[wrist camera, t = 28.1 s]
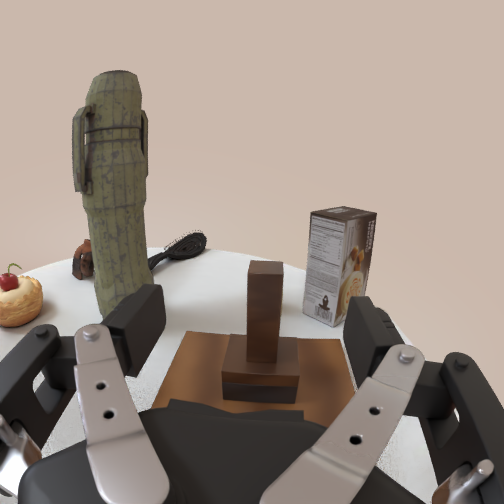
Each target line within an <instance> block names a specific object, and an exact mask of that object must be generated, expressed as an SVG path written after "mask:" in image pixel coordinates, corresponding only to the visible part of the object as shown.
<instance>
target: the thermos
mask: <svg viewBox="0 0 504 504" xmlns="http://www.w3.org/2000/svg"><path fill="white" fill-rule="evenodd" d="M141 102H142V94H141V89H140V86H139V82H138V78H137V75H135V74H133V73H131V72H129V71H123V70H115V71H108V72H104V73H101V74H100V75H98V76H96V77H95V78H94V79H93V81H92V84H91V86H90V89H89V91H88V94H87V97H86V105H85V107H82V108H80V109H79V110H78V111H77V113H76V114H75V116H74V118H73V125H72V155H73V156H72V159H73V178H74V185H75V192H81V194H82V200H83V207H84V209H85V211H86V213H87V217H88V226H89V235H90V242H91V249H92V256H93V262H94V268H95V274H96V276H95V283H94V288H95V293H96V297H97V302H98V306H99V310H100V313H101V315H102V317H103V320H104V319H105V318H106V316H107V315H108V314H109V313H110V312H111V311H112V310H114V308H115V307H116V306H117V305H118V303H119V302H120V301H121V300H122V299H123V298H124V297H126V296H128V295H130V294H132V293H136V291H137V290H138V289H139V288H140V287H141V286H142V285H143V284H144V283H146V284H154V279H153V275H152V273H151V271H150V269H149V267H148V258H147V248H146V237H145V224H144V210H143V209H144V205H145V202H146V177H147V176H148V119H147V116H146V114H145V111H143V110H141ZM85 134H86V145H85V144H84V143H85V141H84V139H85V138H84V137H85Z"/></svg>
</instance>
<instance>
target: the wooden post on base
mask: <svg viewBox="0 0 504 504" xmlns="http://www.w3.org/2000/svg"><path fill="white" fill-rule="evenodd" d="M283 276H284V273H283V262H277V261H255V260H251V261H250V265H249V269H248V280H247V335H239V334H230V337H229V341H228V345H227V349H226V353H225V357H224V361H223V365H222V369H221V378H222V395H223V400H233V401H245V402H260V403H281V404H295V401H296V396H297V390H298V384H299V378H300V370H299V357H298V344H297V337H279V330H280V317H281V304H282V291H283Z"/></svg>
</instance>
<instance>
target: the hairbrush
mask: <svg viewBox="0 0 504 504" xmlns="http://www.w3.org/2000/svg"><path fill="white" fill-rule="evenodd" d="M206 239H207V238H206V237H205V236H204V234H203V233H193V234H189V235H187V236H186V237H184V238H183V239H181V240H180V241H178V242H177V243H176V244H174V245H173V246H172V247H169V249H168V250H166V249H165V248H166V247H167V246H166V247H165V248H164V250H166V251H165V252H164V253H162V252H161V253H159V254H157V255H154V256H152V257H150V258H149V259H148V267H149V269H150V271H151V270H152V269H153V268H154V267H155V266H156V265H157V264H158V263H159V262H160V261H162V260H163V259H165V258H167V257H170V258H175V259H187V258H192V257H195V256H197V255H199V254H201V252H202V251H203V250H204V249H205V246H206V242H207V240H206Z"/></svg>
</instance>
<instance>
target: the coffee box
mask: <svg viewBox="0 0 504 504" xmlns="http://www.w3.org/2000/svg"><path fill="white" fill-rule="evenodd" d="M376 216H377V213H375V212H369V211H364V210H360V209H355V208H350V207H345V206H342V207H336V208H330V209H325V210H319V211H313V212H311V216H310V232H309V245H308V258H307V270H306V282H305V292H304V302H303V313H304V314H306V315H308V316H310V317H313V318H315V319H317V320H319V321H321V322H323V323H325V324H327V325H330V326H332V327H335V326H337V325H338V324H339V323H341V322H342V321H344V320H345V319H346V315H347V310H348V304H349V300H350V297H351V296H365V291H366V286H367V280H368V274H369V268H370V262H371V255H372V248H373V241H374V233H375V225H376Z"/></svg>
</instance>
